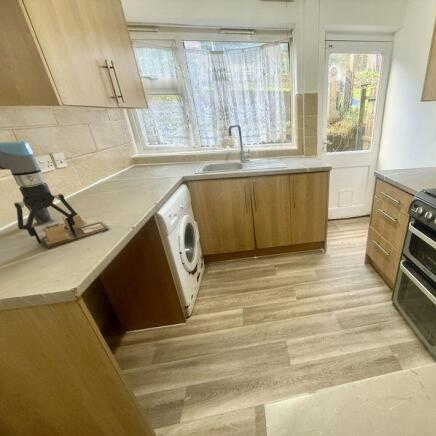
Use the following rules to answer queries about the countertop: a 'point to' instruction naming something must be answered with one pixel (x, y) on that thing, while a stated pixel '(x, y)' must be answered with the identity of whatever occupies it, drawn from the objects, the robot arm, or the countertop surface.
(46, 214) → the beverage cup
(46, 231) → the tan toy block
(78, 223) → the tan wooden cube
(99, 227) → the word board
